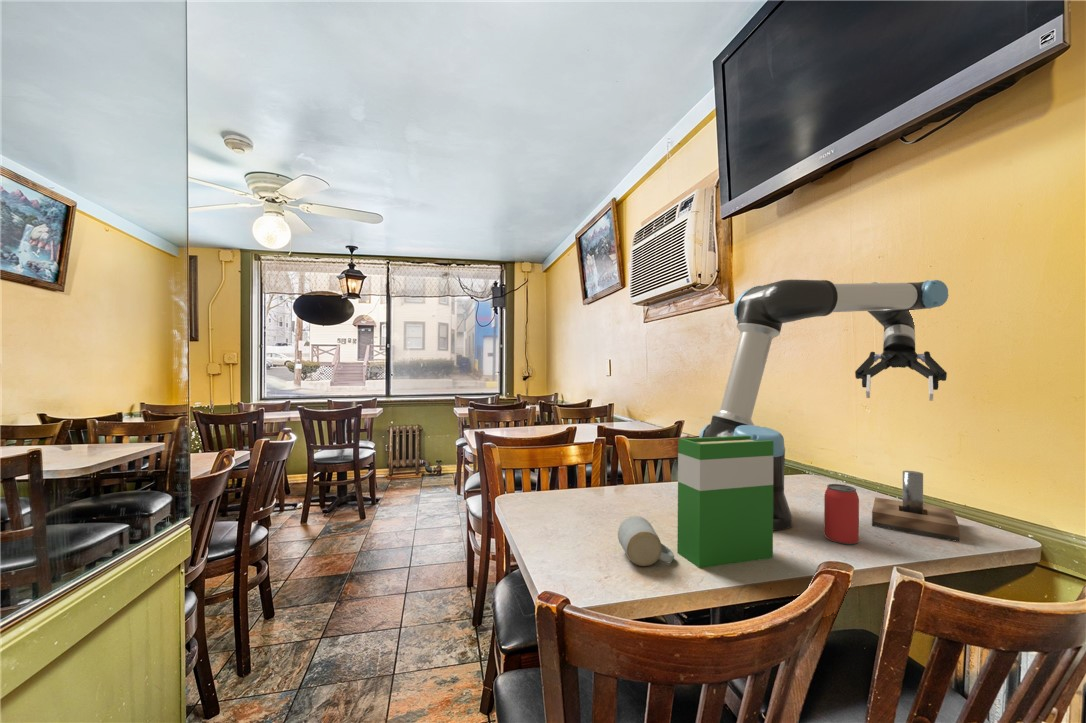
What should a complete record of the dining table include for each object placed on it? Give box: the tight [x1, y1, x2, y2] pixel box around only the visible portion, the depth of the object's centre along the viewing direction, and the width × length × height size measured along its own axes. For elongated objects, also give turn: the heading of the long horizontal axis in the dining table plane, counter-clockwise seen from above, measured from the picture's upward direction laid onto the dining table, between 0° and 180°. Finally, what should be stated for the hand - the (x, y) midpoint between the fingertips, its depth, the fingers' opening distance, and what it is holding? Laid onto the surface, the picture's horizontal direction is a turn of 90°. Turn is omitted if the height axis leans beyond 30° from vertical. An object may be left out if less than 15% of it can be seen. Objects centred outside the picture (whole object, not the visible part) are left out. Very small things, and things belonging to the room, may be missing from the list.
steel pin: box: [902, 470, 924, 515], centre depth 114 cm, size 4×4×12 cm
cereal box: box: [676, 436, 774, 569], centre depth 94 cm, size 18×7×24 cm, turn 107°
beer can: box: [823, 483, 860, 545], centre depth 103 cm, size 7×7×12 cm
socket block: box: [871, 496, 960, 542], centre depth 114 cm, size 16×16×4 cm
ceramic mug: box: [617, 515, 675, 567], centre depth 92 cm, size 11×8×8 cm
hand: (898, 396), depth 124 cm, fingers open, 13 cm apart
